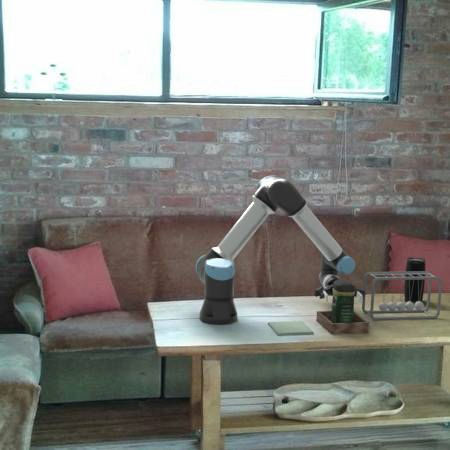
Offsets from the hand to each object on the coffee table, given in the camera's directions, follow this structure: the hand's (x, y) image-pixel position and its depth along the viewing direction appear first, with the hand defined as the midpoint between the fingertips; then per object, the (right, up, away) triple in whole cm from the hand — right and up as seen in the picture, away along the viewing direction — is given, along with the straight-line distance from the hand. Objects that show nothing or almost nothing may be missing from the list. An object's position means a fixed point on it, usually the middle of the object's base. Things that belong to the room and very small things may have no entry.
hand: (344, 299), depth 271 cm
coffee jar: (-1, -11, +1) cm, 11 cm away
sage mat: (-21, -11, -4) cm, 24 cm away
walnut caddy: (-1, -11, +1) cm, 11 cm away
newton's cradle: (+26, -9, +18) cm, 33 cm away
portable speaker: (+38, -6, +40) cm, 55 cm away
